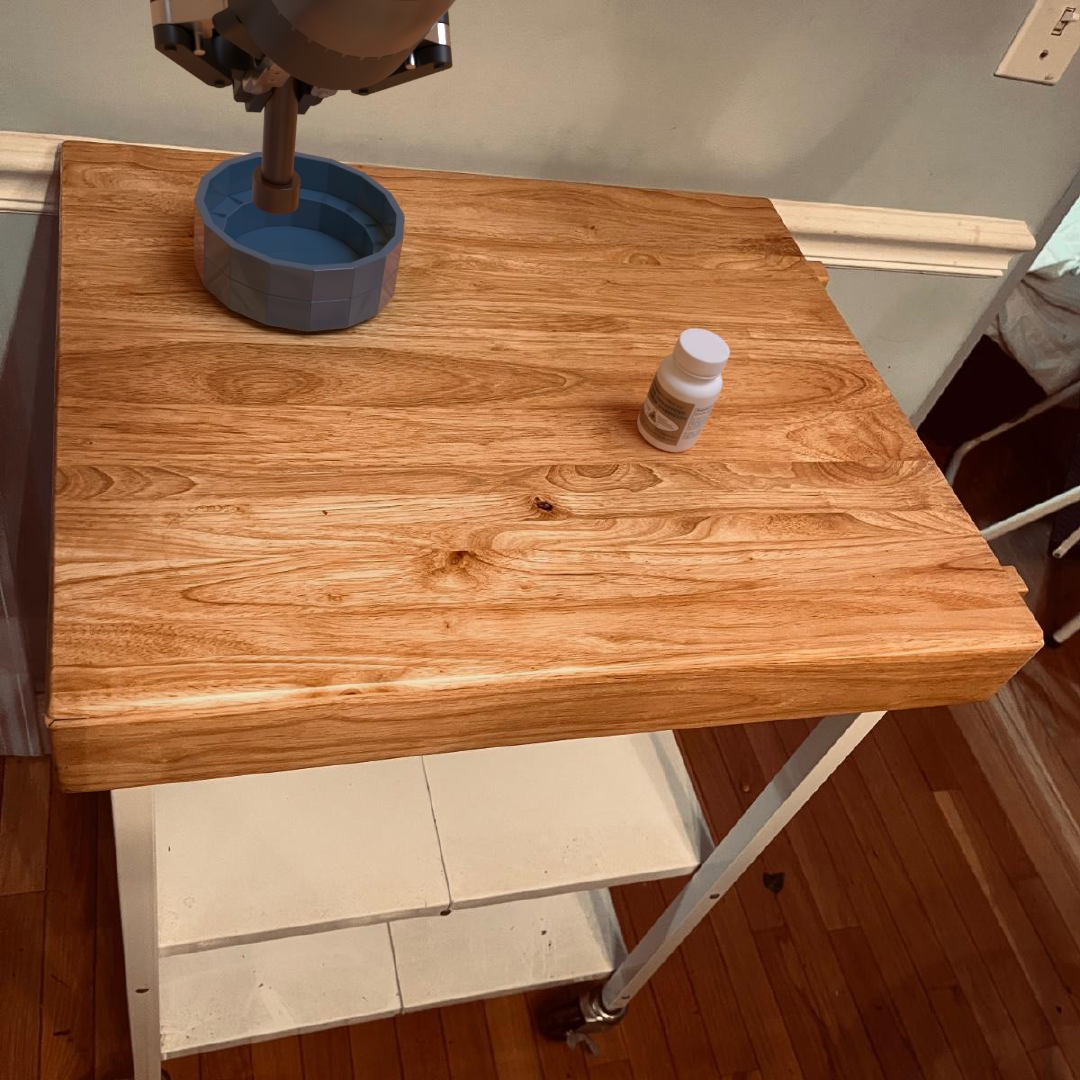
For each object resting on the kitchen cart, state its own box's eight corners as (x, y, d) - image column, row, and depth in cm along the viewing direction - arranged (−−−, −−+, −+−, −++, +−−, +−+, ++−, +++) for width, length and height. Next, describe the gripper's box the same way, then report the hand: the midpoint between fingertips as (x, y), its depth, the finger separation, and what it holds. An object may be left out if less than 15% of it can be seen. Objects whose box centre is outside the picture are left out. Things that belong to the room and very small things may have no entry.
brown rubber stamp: (271, 219, 55) (281, 49, 49) (242, 195, 56) (248, 24, 50) (307, 208, 57) (322, 40, 50) (279, 184, 57) (290, 17, 51)
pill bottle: (623, 421, 73) (658, 332, 68) (666, 403, 76) (704, 316, 70) (665, 462, 72) (705, 375, 66) (708, 442, 74) (751, 356, 69)
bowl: (281, 363, 69) (286, 294, 65) (154, 250, 73) (152, 179, 69) (432, 298, 77) (445, 233, 73) (310, 200, 82) (316, 134, 78)
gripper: (523, -140, 41) (396, 26, 56) (141, -198, 35) (119, 3, 51) (537, 67, 41) (408, 173, 57) (166, 40, 36) (136, 166, 52)
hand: (272, 92), depth 54 cm, fingers closed on brown rubber stamp, 1 cm apart
